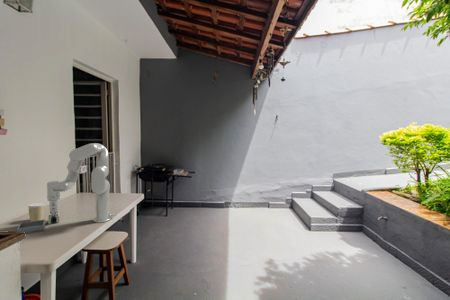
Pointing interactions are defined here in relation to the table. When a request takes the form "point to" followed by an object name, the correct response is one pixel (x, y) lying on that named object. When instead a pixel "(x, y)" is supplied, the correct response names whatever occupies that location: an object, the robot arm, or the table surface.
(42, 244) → the table surface
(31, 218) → the coffee cup
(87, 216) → the table surface
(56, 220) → the box
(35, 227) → the large crate
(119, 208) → the table surface
